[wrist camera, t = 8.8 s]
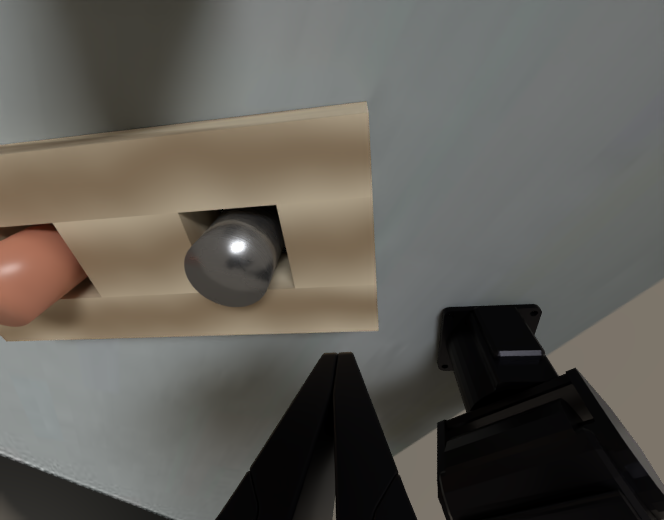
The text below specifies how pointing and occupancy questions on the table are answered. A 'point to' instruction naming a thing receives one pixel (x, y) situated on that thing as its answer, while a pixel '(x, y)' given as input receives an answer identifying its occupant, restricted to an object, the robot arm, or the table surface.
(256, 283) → the grey button
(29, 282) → the red button
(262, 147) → the button panel
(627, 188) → the table surface
